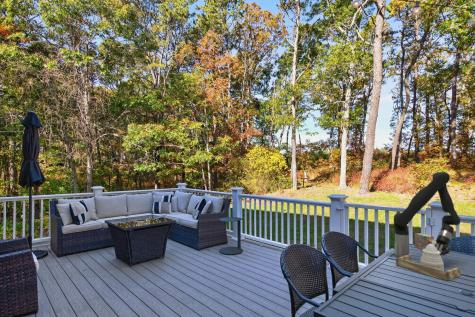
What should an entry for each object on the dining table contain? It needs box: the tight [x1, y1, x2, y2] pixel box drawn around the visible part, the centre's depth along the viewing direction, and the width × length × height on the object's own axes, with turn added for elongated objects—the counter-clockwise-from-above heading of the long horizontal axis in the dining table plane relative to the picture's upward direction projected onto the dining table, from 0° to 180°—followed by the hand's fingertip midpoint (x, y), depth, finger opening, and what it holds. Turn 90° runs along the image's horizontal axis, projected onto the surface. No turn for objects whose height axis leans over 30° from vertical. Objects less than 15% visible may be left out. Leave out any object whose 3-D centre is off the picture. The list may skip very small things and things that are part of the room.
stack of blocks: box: [414, 232, 436, 251], centre depth 224 cm, size 21×6×12 cm, turn 15°
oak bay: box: [395, 254, 461, 282], centre depth 181 cm, size 16×31×5 cm, turn 29°
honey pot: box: [419, 242, 445, 271], centre depth 184 cm, size 13×13×18 cm
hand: (436, 258), depth 187 cm, fingers closed
